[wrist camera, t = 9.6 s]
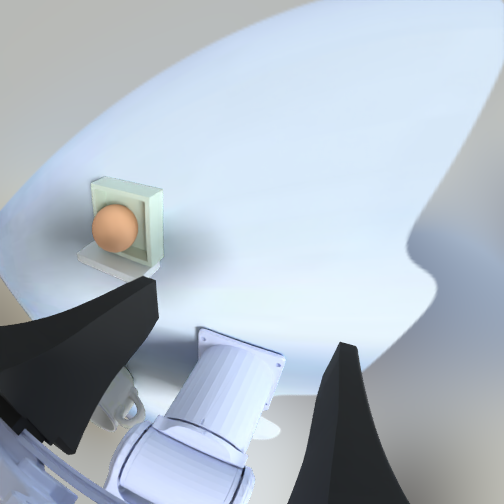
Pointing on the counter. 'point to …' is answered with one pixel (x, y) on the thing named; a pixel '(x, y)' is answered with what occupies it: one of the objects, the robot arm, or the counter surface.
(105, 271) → the wall
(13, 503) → the robot arm
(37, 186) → the counter surface
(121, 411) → the teacup
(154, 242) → the tray
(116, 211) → the ball
